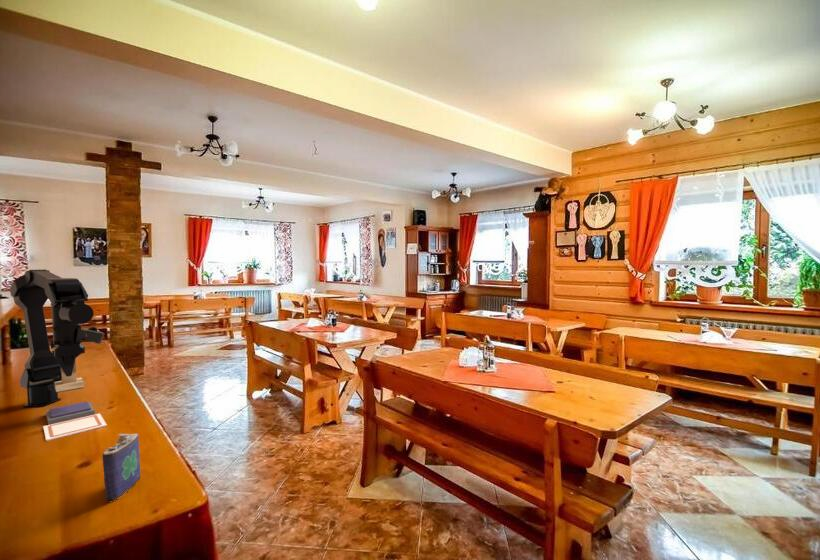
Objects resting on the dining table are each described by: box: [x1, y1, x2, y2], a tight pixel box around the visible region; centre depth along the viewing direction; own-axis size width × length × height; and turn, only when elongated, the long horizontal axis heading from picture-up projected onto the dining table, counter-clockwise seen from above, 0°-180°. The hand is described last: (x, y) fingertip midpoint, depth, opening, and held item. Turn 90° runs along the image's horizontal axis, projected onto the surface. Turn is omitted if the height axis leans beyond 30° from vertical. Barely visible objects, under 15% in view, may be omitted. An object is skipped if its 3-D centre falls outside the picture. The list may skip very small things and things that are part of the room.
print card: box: [42, 413, 108, 442], centre depth 104 cm, size 12×12×1 cm
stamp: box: [54, 360, 85, 394], centre depth 113 cm, size 6×6×8 cm
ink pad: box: [45, 401, 96, 425], centre depth 113 cm, size 10×10×2 cm
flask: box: [101, 433, 142, 503], centre depth 75 cm, size 9×3×11 cm, turn 8°
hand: (68, 374), depth 113 cm, fingers closed on stamp, 3 cm apart
